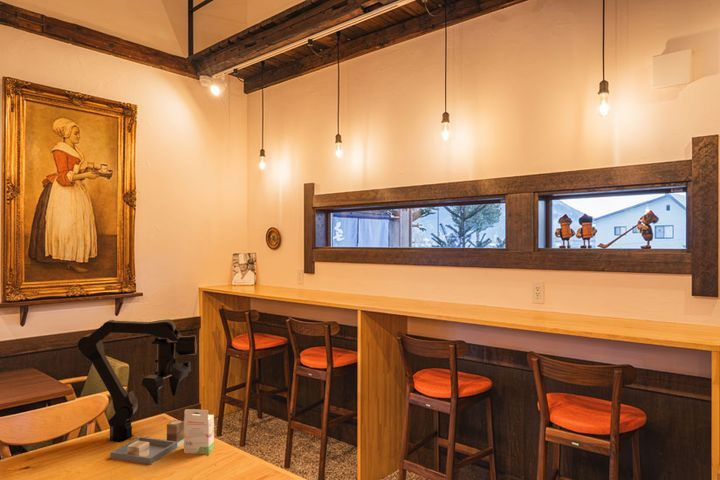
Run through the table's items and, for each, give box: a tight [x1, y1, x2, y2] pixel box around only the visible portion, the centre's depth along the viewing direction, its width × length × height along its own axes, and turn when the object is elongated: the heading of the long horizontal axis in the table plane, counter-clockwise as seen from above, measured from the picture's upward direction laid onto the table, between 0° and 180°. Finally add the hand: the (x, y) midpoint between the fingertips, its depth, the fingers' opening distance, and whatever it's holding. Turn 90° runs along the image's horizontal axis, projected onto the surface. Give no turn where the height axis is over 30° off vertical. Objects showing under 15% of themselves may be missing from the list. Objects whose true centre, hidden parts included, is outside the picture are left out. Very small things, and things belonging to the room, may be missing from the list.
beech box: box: [127, 441, 149, 457], centre depth 155 cm, size 4×4×4 cm
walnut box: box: [166, 419, 184, 443], centre depth 168 cm, size 4×4×6 cm
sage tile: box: [162, 436, 184, 448], centre depth 168 cm, size 9×9×1 cm
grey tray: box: [110, 436, 178, 466], centre depth 158 cm, size 15×13×2 cm
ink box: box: [183, 408, 215, 456], centre depth 160 cm, size 9×5×15 cm, turn 84°
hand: (165, 399), depth 173 cm, fingers open, 9 cm apart
